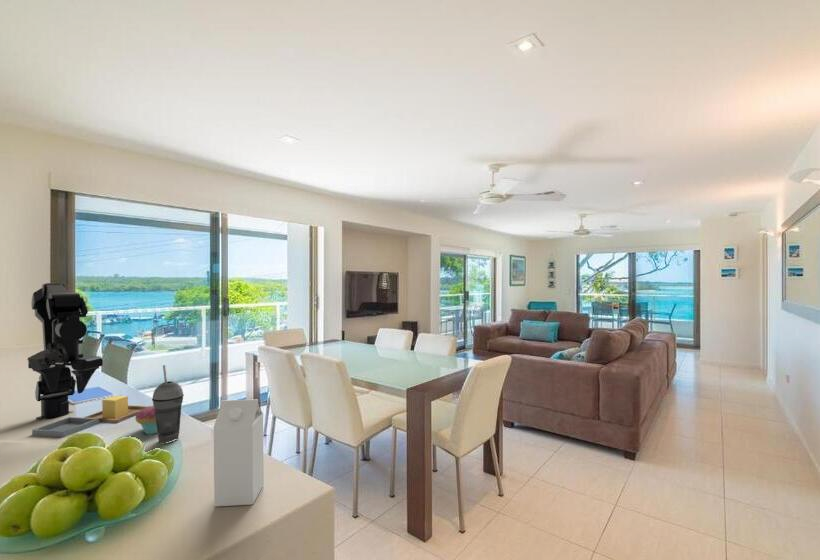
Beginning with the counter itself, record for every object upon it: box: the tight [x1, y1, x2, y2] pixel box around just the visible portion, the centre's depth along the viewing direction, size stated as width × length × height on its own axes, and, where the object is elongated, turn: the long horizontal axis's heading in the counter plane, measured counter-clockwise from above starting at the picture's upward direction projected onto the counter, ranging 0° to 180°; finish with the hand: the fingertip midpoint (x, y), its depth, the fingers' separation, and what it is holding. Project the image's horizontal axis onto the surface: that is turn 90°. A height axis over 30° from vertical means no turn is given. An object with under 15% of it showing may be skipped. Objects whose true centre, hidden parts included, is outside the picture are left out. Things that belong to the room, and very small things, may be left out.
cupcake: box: [134, 405, 158, 435], centre depth 112 cm, size 9×8×12 cm
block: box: [101, 395, 129, 419], centre depth 123 cm, size 4×4×6 cm
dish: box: [31, 416, 100, 438], centre depth 112 cm, size 10×10×2 cm
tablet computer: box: [68, 386, 116, 405], centre depth 147 cm, size 19×13×1 cm, turn 52°
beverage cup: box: [151, 364, 184, 445], centre depth 105 cm, size 7×7×20 cm
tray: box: [82, 404, 151, 424], centre depth 124 cm, size 12×12×1 cm
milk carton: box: [213, 398, 265, 507], centre depth 78 cm, size 7×7×19 cm
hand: (66, 392), depth 112 cm, fingers open, 9 cm apart
